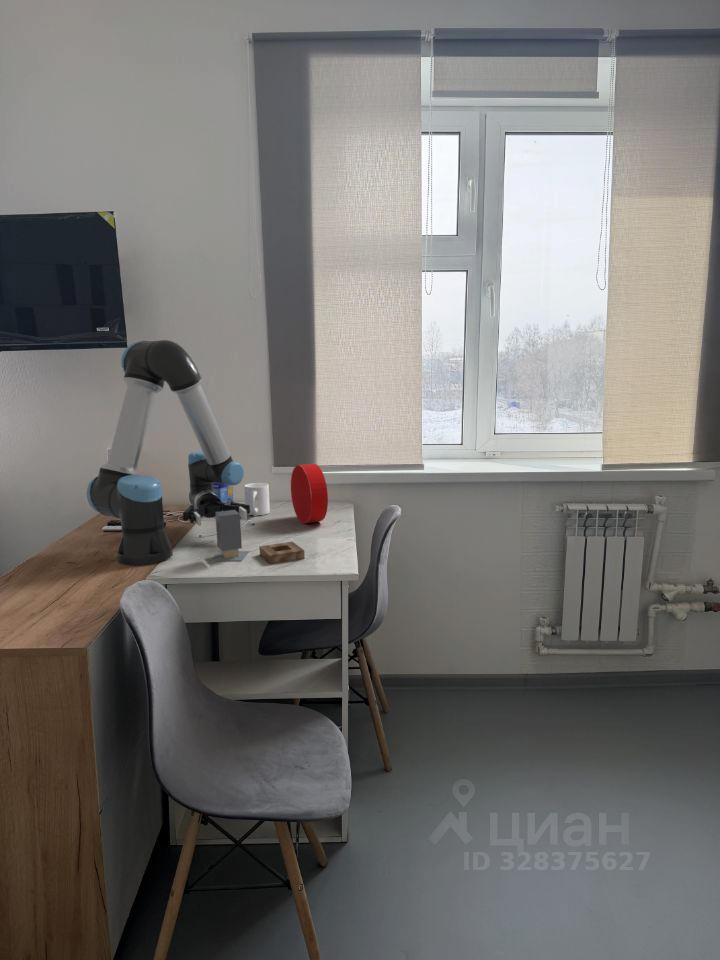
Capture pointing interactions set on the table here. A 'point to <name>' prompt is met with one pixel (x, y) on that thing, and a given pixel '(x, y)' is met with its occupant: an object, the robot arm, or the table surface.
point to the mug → (257, 498)
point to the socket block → (281, 552)
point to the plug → (228, 533)
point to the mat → (239, 558)
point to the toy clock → (309, 493)
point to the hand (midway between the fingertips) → (222, 518)
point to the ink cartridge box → (223, 492)
